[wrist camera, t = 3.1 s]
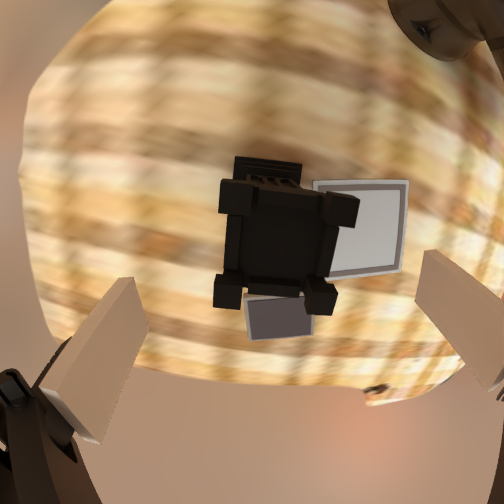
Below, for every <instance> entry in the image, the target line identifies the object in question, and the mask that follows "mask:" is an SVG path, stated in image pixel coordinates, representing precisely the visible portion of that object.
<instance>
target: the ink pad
mask: <svg viewBox="0 0 504 504" xmlns="http://www.w3.org/2000/svg"><path fill="white" fill-rule="evenodd" d="M243 299H244V307H245V315H246V323H247V331H248V339H249V341H262V340H274V339H285V338H294V337H304V336H312V335H314V315H307V313H306V310H305V306H304V301H305V297H304V294H303V292H300V295H299V298H290V297H276V296H264V295H252V294H248V293H244V294H243Z"/></svg>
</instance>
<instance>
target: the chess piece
mask: <svg viewBox="0 0 504 504" xmlns="http://www.w3.org/2000/svg"><path fill="white" fill-rule="evenodd" d="M301 171H302V164H298V163H291V162H283V161H276V160H267V159H258V158H249V157H238V156H235V161H234V172H233V179H222V180H221V183H220V195H219V208H218V213H222V214H228V215H227V226H226V239H225V253H224V267H223V268H224V272H223V274H216V277H215V281H214V293H213V307H215V308H225V309H235V310H240V307H241V298H242V288H243V287H246V288H248V294H252V295H264V296H276V297H290V298H299V295H300V292H303V294H304V297H305V301H304V306H305V310H306V313H307V315H327V316H332V313H333V310H334V307H335V303H336V300H337V296H338V292H337V290H336V288H335V286H334V284H330V283H327V282H326V280H325V278H324V277H328V278H329V274H330V270H331V266H332V261H333V257H334V253H335V248H336V244H337V239H338V234H339V230H340V228H339V227H347V228H354V229H355V225H356V220H357V216H358V211H359V206H360V199H359V198H357V197H355V196H353V195H349V194H343V193H337V192H331V191H326V193H323V192H317V191H314V190H307V189H302V188H301V187H300V186H299V185H300V178H301ZM338 226H339V227H338Z"/></svg>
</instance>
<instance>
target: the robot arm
mask: <svg viewBox="0 0 504 504" xmlns="http://www.w3.org/2000/svg"><path fill="white" fill-rule="evenodd" d="M388 2H389V7H390V10H391V12H392V14H393V16H394V18H395V20H396V22H397V23H398V25H399V26H400V28H401V29H402V30H403V32H404V33H405V34H406V35H407V36H408V37H409V38H410V39H411V40H412V41H413V42H414V43H415V44H416V45H417V46H418V47H419V48H420V49H422V50H423V51H425V52H426V53H428V54H429V55H431V56H433V57H435V58H437V59H440V60H444V61H453V60H457V59H460V58H463V57H465V56H466V55H467V54H468V52H469V51H471V50H472V49H473V48H474V47H475V46H476V45H477V44H478V43H479V42H480V41H484V40H485V41H486V42H487V44H488V46H489V48H490V51H491V53H492V55H493V57H494V59H495V61H496V64H497V66H498V68H499V71H500V73H501V76H502V78H503V81H504V0H388ZM415 302H416V303H417V305H418V306H419V307H420V308H421V309H422V310H423V312H424V313H425V314H426V315H427V316H428V317H429V319H430V320H431V321H432V322H433V323H434V324H435V326H436V327H437V328H438V329H439V330H440V332H441V333H442V334H443V335H444V337H445V338H446V339H447V340H448V342H449V343H450V344H451V345H452V347H453V348H454V349H455V350H456V352H457V353H458V354H459V356H460V357H461V358H462V360H463V361H464V362H465V364H466V365H467V366H468V368H469V369H470V370H471V372H472V373H473V375H474V376H475V377H476V379H477V380H478V382H479V383H480V384H481V386H482V387H483V389H484V390H485V392H486V393H488V392H490V391H491V390H493V389H495V388H496V387H498V386H499V384H500V383H501V381H502V380H503V378H504V302H503V301H502V300H501V299H500V298H498V297H497V296H496V295H495V294H494V293H492V292H491V291H490V290H489V289H488V288H486V287H485V286H484V285H483V284H481V283H480V282H479V281H478V280H476V279H475V278H474V277H473V276H471V275H470V274H469V273H467V272H466V271H465V270H464V269H462V268H461V267H460V266H458V265H457V264H456V263H454V262H453V261H451V260H450V259H449V258H447V257H446V256H445V255H443V254H442V253H440V252H439V251H437V250H436V249H435V250H427V251H424V256H423V262H422V268H421V273H420V278H419V283H418V288H417V293H416V297H415ZM149 328H150V327H149V324H148V321H147V318H146V316H145V313H144V310H143V306H142V303H141V300H140V297H139V294H138V291H137V287H136V284H135V280H134V277H123V278H118V279H117V281H116V282H115V283H114V284H113V285H112V287H111V288H110V289H109V290H108V291H107V293H106V294H105V295H104V296H103V298H102V299H101V300H100V301H99V303H98V304H97V305H96V306H95V308H94V309H93V310H92V311H91V313H90V314H89V315H88V317H87V318H86V319H85V320H84V322H83V323H82V324H81V326H80V327H79V328H78V330H77V331H76V332H75V334H74V335H73V337H70V338H69V339H67V340H66V341H65V342H64V343H62V344H61V346H60V347H59V348H58V350H57V351H56V352H55V355H53V357H52V358H51V360H50V363H48V364H47V365H46V367H45V368H44V370H43V371H42V373H41V374H40V376H39V377H38V379H37V380H36V382H35V383H34V385H33V386H32V388H30V387H29V385H28V384H27V382H26V381H25V379H24V378H23V377H22V375H21V374H20V372H19V371H18V370H16V369H12V368H11V369H6V370H4V371H3V372H1V373H0V441H1V442H2V443H3V444H4V445H5V446H6V450H5V451H3V450H2V449H1V448H0V504H102V502H101V500H100V498H99V497H98V494H97V492H96V490H95V488H94V486H93V484H92V481H91V479H90V477H89V474H88V472H87V470H86V467H85V465H84V462H83V459H82V457H81V454H80V452H79V449H78V446H77V443H76V441H75V440H74V438H73V437H72V435H73V433H74V431H76V432H77V433H78V434H79V435H80V436H81V438H82V439H83V440H86V441H90V442H93V443H97V444H102V441H103V438H104V435H105V433H106V430H107V427H108V425H109V422H110V419H111V417H112V414H113V412H114V409H115V407H116V404H117V402H118V399H119V397H120V394H121V392H122V389H123V387H124V384H125V382H126V380H127V377H128V375H129V373H130V371H131V368H132V366H133V364H134V361H135V359H136V357H137V355H138V352H139V350H140V348H141V346H142V343H143V341H144V339H145V337H146V335H147V333H148V330H149ZM503 394H504V387H503V389H502V390H501V392H500V393H499V394H498V396H497V399H496V400H499V399H500V397H501V396H502V395H503ZM501 401H504V397H503V398H502V400H501ZM487 504H504V424H503V434H502V441H501V448H500V454H499V459H498V464H497V469H496V475H495V478H494V482H493V486H492V489H491V493H490V496H489V500H488V503H487Z"/></svg>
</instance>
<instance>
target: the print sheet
mask: <svg viewBox="0 0 504 504" xmlns="http://www.w3.org/2000/svg"><path fill="white" fill-rule="evenodd" d="M408 186H409V180H401V179H351V180H318V181H313V190H314V191H317V192H323V193H326V191H331V192H337V193H343V194H349V195H353V196H355V197H357V198H359V199H360V206H359V211H358V216H357V220H356V225H355V229H354V228H347V227H339V226H338V227H339V228H340V230H339V234H338V239H337V244H336V248H335V253H334V257H333V261H332V266H331V270H330V274H329V278H328V277H324V278H325V280H326V281H330V280H339V279H348V278H357V277H365V276H373V275H381V274H389V273H397V272H400V271H401V265H402V257H403V250H404V241H405V232H406V221H407V207H408Z"/></svg>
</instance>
